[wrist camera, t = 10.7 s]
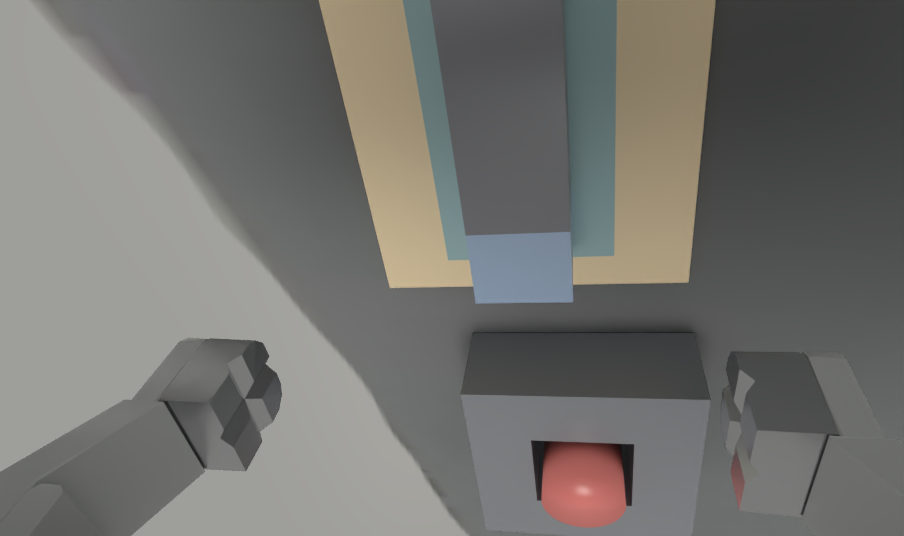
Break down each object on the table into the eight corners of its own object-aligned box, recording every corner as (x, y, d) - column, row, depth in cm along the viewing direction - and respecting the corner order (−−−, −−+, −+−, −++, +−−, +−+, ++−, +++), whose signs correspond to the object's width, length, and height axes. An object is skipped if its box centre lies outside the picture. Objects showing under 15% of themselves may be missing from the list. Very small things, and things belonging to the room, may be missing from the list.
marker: (445, -68, 19) (421, -53, 16) (561, -86, 18) (559, -73, 15) (486, 251, 25) (475, 303, 22) (573, 248, 25) (573, 302, 22)
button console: (694, 332, 27) (710, 400, 23) (678, 474, 32) (690, 544, 29) (473, 332, 29) (460, 394, 25) (494, 465, 34) (486, 529, 31)
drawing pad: (732, -201, 16) (736, -202, 16) (687, 278, 25) (688, 283, 25) (292, -122, 19) (287, -122, 19) (391, 284, 28) (389, 289, 27)
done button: (621, 414, 27) (626, 479, 25) (620, 464, 29) (625, 530, 27) (542, 412, 28) (539, 475, 25) (546, 461, 30) (543, 524, 27)
